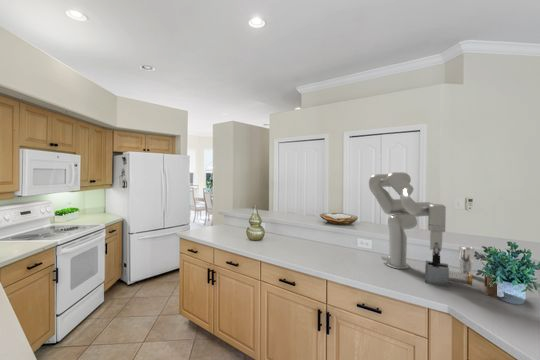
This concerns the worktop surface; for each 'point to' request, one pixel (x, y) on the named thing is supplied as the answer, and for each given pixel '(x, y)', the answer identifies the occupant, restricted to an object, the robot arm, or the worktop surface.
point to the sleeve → (437, 274)
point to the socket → (490, 290)
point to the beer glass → (466, 259)
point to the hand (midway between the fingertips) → (436, 260)
